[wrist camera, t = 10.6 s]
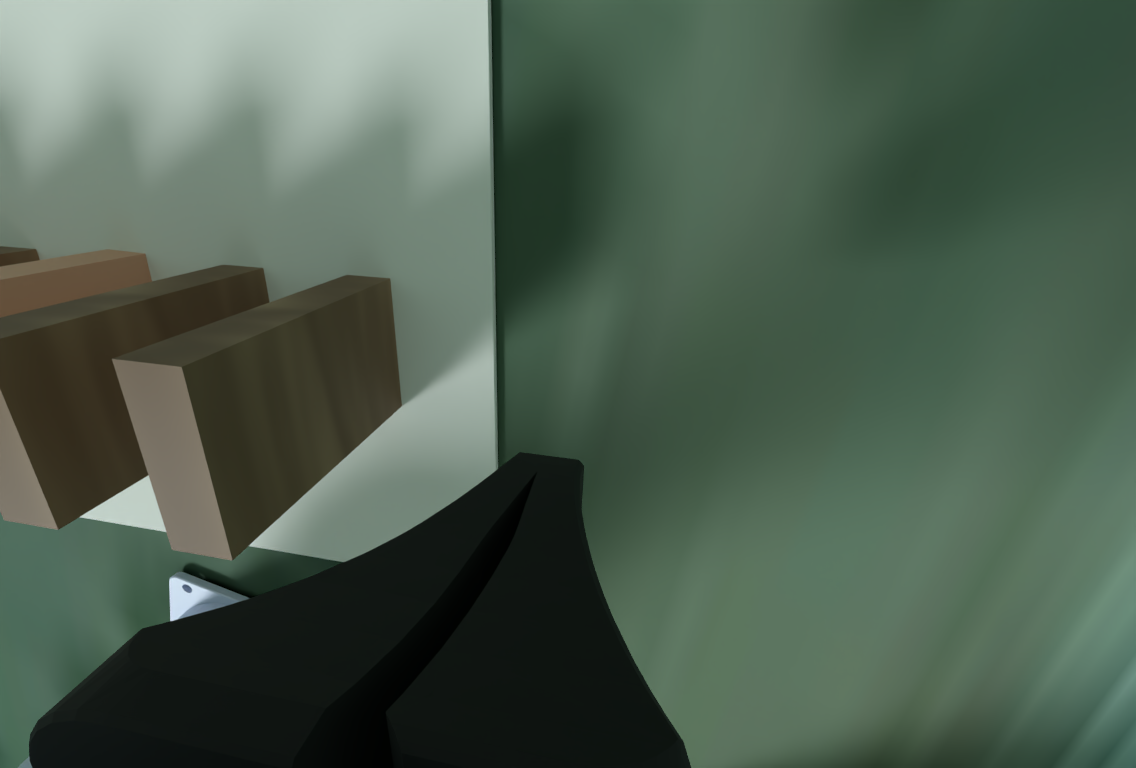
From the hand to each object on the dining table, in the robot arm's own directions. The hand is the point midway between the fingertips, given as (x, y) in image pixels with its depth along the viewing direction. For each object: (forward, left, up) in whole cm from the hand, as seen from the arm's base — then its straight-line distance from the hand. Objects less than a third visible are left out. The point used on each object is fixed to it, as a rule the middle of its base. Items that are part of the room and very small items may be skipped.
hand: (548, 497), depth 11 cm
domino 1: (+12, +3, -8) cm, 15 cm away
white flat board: (+17, +5, -8) cm, 19 cm away
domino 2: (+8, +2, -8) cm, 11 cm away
